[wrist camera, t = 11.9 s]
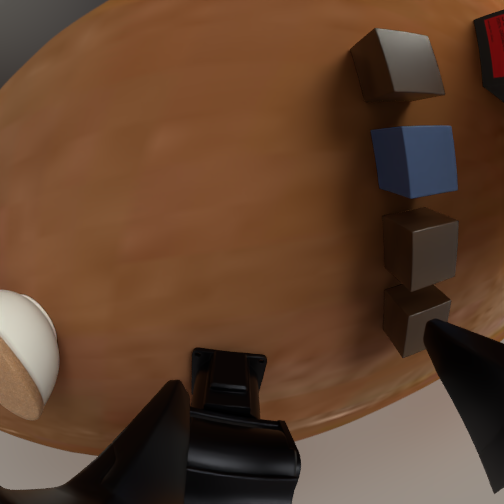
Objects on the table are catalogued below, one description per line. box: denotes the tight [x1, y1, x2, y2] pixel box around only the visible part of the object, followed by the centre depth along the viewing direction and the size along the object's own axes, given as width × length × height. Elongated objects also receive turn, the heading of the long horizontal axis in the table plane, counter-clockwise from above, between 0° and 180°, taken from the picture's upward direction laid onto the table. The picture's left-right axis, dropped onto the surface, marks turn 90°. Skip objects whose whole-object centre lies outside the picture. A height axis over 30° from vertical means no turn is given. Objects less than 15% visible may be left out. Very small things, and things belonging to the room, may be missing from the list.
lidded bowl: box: [0, 290, 59, 420], centre depth 17 cm, size 13×13×11 cm
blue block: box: [371, 125, 458, 199], centre depth 15 cm, size 4×4×4 cm
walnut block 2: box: [382, 207, 459, 292], centre depth 18 cm, size 4×4×4 cm
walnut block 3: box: [383, 284, 451, 358], centre depth 20 cm, size 4×4×4 cm
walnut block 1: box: [350, 28, 445, 102], centre depth 13 cm, size 4×4×4 cm
